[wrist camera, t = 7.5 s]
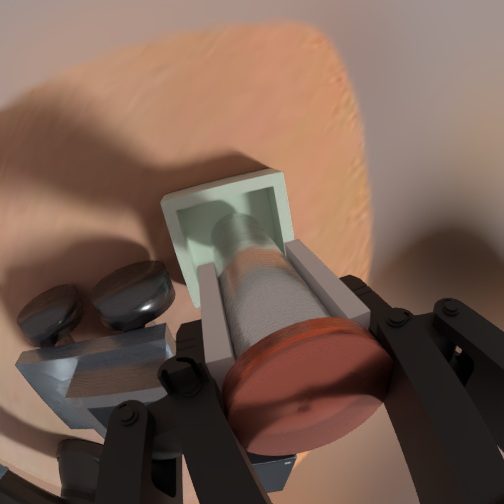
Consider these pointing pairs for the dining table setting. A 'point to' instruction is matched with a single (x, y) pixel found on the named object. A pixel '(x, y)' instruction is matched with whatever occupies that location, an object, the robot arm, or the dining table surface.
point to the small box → (272, 469)
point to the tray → (216, 207)
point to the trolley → (99, 345)
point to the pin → (289, 350)
